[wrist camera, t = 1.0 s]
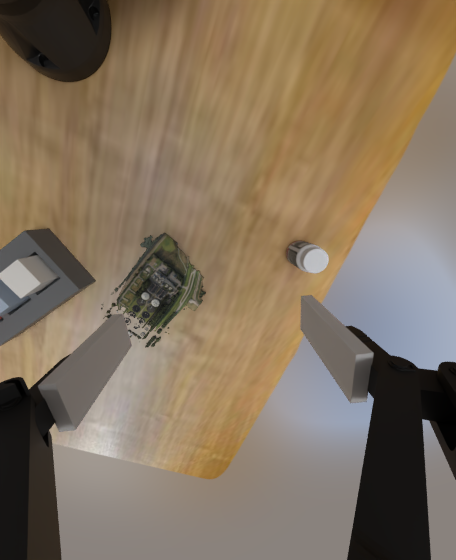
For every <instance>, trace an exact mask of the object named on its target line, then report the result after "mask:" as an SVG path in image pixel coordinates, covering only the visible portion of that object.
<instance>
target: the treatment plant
mask: <svg viewBox="0 0 456 560" xmlns="http://www.w3.org/2000/svg"><path fill="white" fill-rule="evenodd" d="M151 238H153V237H152V236H151V235H150V237H148V238H144V240H145V242H144V243H141V244H140V246H141V247H146V248H148V249H147V250H146V252H145V253H144V254H143V256H142V257H141V258H140V259H139V262H138V263H137V265H135V266H134V267H133V268H132V271H131V272H130V273H129V275H128V276H127V277H126V278H125V279H127V280H126V283H125V285H124V284H123V283H124V281H125V279H124V281H123V283H121V284H120V286H118V287H119V288H120V287H121V285H122V284H123V285H124V287H123V288H122V290H121V292H120V294H119V295H120V296H119V298H118V299H117V305H116V306H118V310H121V306H122V307H125V308H126V310H125V311H123V312H124V313H125V312H126V311H127V312H126V313H127V314H128V313H130V312H133V313H132V314H130V316H133V317H134V318H135V316H136V317H137V318H141V320H142V319H143V320H144V322H145V321H146V324H147V323H148V322H149V323H150V324H149V323H148V324H147V325H148V326H149V327H150V325H151V326H152V327H151V329H150V330H149V331H150V332H151V331H152V330H153V329H154V327H156V326H157V327H156V330H157V328H159V327H160V326H161V325H162V324H163V325H162V326H161V327H162V328H165V326H166V325H167V324H168V323H169V322H170V321H171V320H172V319H173V318H174V317H175V316H176V315H177V314H178V313H179V311H180V310H181V309H182V308H183V307H184V306H185V305H186V306H188V308H190V309H192V310H193V311H195V310H196V309H197V308H198V306H199V305H200V304H201V303H202V301H203V300H202V299H201V297H202V295H204V294H206V292H203V291H202V287H203V286H202V282H201V281H202V280H203V279H204V277H202V275H200V271H196V269H193V267H194V266H191V265H190V263H189V257H185V254H184V253H183V252H182V251H181V250H180V249H179V248H177V244H178V243H177V242H175V241H174V240H173V239H172V238H170V237H169V236H168V235H167V234H166V233H163V234H162V235H160V236H159V237H158V238H156V239H155V241H153V242H152V241H151ZM115 290H117V291H118V288H116V289H115ZM111 295H112V294H111ZM204 296H205V295H204ZM186 303H187V304H186ZM101 305H103V304H101ZM114 306H115V303H112V307H114ZM103 307H104V306H103ZM127 307H128V308H127ZM137 307H138V308H137ZM101 309H102V308H101ZM186 309H187V308H186ZM110 310H111V308H110ZM118 310H117V312H118ZM183 310H185V308H184V309H183ZM135 311H136V312H135ZM106 313H109V314H110V311H107V312H106ZM124 313H123V314H124ZM145 313H147V314H148V315H147V314H145ZM133 314H134V315H133ZM110 315H111V314H110ZM110 315H107V316H105V317H108V318H110V317H111V316H112V315H111V316H110ZM105 317H104V318H105ZM104 318H103V319H104ZM124 319H125V318H124ZM126 319H129V318H126ZM129 320H130V319H129ZM138 320H139V319H138ZM141 320H139V323H140V324H141V322H142V321H141ZM106 321H107V320H106ZM125 322H126V323H128V322H129V321H128V320H126V321H125ZM130 323H131V321H130ZM142 323H143V322H142ZM146 324H145V325H146ZM127 325H129V324H127ZM145 325H144V326H145ZM138 326H139V325H138ZM144 326H143V327H144ZM143 327H142V328H143ZM134 328H135V326H134ZM137 328H140V326H139V327H137ZM137 328H135V329H137ZM168 329H169V327H168ZM145 330H146V331H147V330H148V328H145ZM156 330H155V331H154V332H156ZM149 331H148V333H147V334H146V335H145V333H144V332H142V333H141V334H140V335H141V336H144V335H145V336H144V338H142V339H145V338H146V337H147V336H148V334H149ZM161 331H162V329H159V330H158V331H157V333H158V334H160V333H161ZM130 332H132V331H131V330H128V333H129V334H130ZM165 333H167V332H165ZM132 334H133V335H135V336H136V335H137V334H135V333H134V332H132ZM132 334H131V335H130V336H129V337H131V336H132ZM168 334H169V333H168ZM137 337H138V339H141V337H140V336H137ZM155 338H156V335H155V336H153V337H152V338H151V339H150V341H149V342H148V343H147V345H146V346H145V347H149V345H150V344H151V343H152V342H153V341H154V339H155ZM160 339H161V337H159V338H157V339H156V341H155V342H154V343H153V344H152V345H151V347H154V346H155V343H156V342H158V341H159V340H160Z"/></svg>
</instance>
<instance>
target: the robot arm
mask: <svg viewBox="0 0 456 560" xmlns="http://www.w3.org/2000/svg"><path fill="white" fill-rule="evenodd" d="M0 35H1V36H2V37H3V39H4V40H5V41H6V42H7V44H8V45H9V46H10V47H11V48H12V49H13V50H14V51H15V52H16V53H17V54H18V55H19V56H20V57H21V58H22V59H24V60H25V61H26V62H27V63H29V64H30V65H31V66H32V67H34V68H35V69H36V70H38V71H39V72H41V73H42V74H44V75H46V76H48V77H50V78H53V79H56V80H60V81H78V80H81V79H84V78H86V77H88V76H89V75H91V74H92V73H94V72H95V71H96V70H97V69H98V67H99V66H100V65H101V63H102V62H103V60H104V58H105V56H106V54H107V51H108V48H109V43H110V37H111V18H110V12H109V7H108V3H107V0H0ZM301 330H302V332H303V333H304V335H305V336H306V338H307V339H308V341H309V342H310V344H311V345H312V347H313V348H314V350H315V351H316V353H317V354H318V355H319V357H320V358H321V360H322V362H323V363H324V364H325V366H326V367H327V369H328V370H329V372H330V373H331V375H332V376H333V378H334V379H335V381H336V382H337V384H338V385H339V387H340V388H341V390H342V391H343V393H344V394H345V396H346V397H347V399H348V400H349V401H350V403H358V402H366V401H367V395H368V392H369V393H370V394H371V396H372V397H373V398H374V403H373V408H372V414H371V420H370V427H369V433H368V439H367V444H366V450H365V456H364V463H363V468H362V475H361V480H360V487H359V492H358V498H357V505H356V511H355V517H354V523H353V529H352V534H351V540H350V546H349V552H348V558H347V560H431V554H430V538H429V522H428V506H427V491H426V490H427V489H426V474H425V458H424V442H423V425H422V419H425V420H429V421H430V423H431V426H432V428H433V430H434V432H435V434H436V437H437V439H438V441H439V444H440V446H441V448H442V450H443V452H444V455H445V457H446V459H447V461H448V464H449V466H450V468H451V471H452V472H453V475H454V477H455V479H456V363H455V362H442V363H441V364H440V365H439V367H438V371H434V370H427V369H419V368H417V367H416V366H415V365H414V364H413V363H412V362H410V361H408V360H406V359H404V358H401V357H397V356H390V355H389V354H388V353H387V352H386V351H384V350H383V349H382V348H381V347H380V346H378V345H377V344H376V343H375V342H374V341H372V340H371V339H370V338H369V337H367V335H366V334H364V333H363V332H362V331H361V330H359V329H357V328H355V327H353V326H344V325H343V324H342V323H341V322H340V321H339V320H338V319H337V318H335V317H334V316H333V315H332V314H331V313H330V312H329V311H328V310H327V309H326V308H325V307H324V306H323V305H322V304H320V303H319V302H318V301H317V300H316V299H315V298H314V297H313V296H312V295H308V296H301ZM131 346H132V344H131V341H130V337H129V333H128V330H127V326H126V322H125V319H124V315H123V314H114V315H112V316H111V317H110V318H109V319H108V320H107V321H105V322H104V323H103V324H102V325H101V326H100V327H99V328H98V329H97V330H96V331H95V332H94V333H93V334H92V335H91V336H90V337H89V338H88V339H87V340H85V341H84V342H83V343H82V344H81V345H80V346H79V347H78V348H77V349H76V350H75V351H74V352H73V353H72V354H70V355H68V356H66V357H65V358H63V359H62V360H60V361H59V362H58V363H57V364H56V365H55V366H54V367H53V368H52V369H51V370H50V371H48V372H47V374H45V375H44V376H43V377H42V378H41V379H40V380H39V381H38V382H37V383H35V384H34V385H33V386H32V387H31V388H30V389H29V390H28V388H27V386H26V383H25V381H24V380H23V378H21V377H17V378H11V379H8V380H6V381H3V382H1V383H0V560H61V548H60V535H59V523H58V511H57V498H56V486H55V474H54V461H53V449H52V437H51V434H50V432H49V429H50V428H51V427H52V426H53V424H54V423H55V424H56V426H57V428H58V430H59V432H62V431H72V430H76V429H77V427H78V426H79V424H80V423H81V421H82V420H83V418H84V417H85V415H86V414H87V412H88V411H89V409H90V408H91V406H92V405H93V403H94V402H95V400H96V399H97V397H98V396H99V394H100V393H101V391H102V390H103V388H104V387H105V385H106V384H107V382H108V381H109V379H110V378H111V376H112V375H113V373H114V372H115V370H116V369H117V367H118V366H119V364H120V363H121V361H122V360H123V358H124V357H125V355H126V354H127V352H128V351H129V349H130V348H131Z"/></svg>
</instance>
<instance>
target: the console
mask: <svg viewBox="0 0 456 560" xmlns="http://www.w3.org/2000/svg"><path fill="white" fill-rule="evenodd" d="M35 255H39V256H40V257H41V258H42V259H43V260H44V261H45V263H46V264H47V265H48V266H49V267H50V268H51V269H52V270H53V271H54V272H55V273H56V274H57V275H58V276H59V277H58V278H57V279H56V280H54V281H53V282H52V283H50V284H49V285H47V286H46V287H45V288H43V289H42V290H40V291H38V292H35V293H33V294H31V295H28V296H29V297H30V298H29V299H28V300H27V301H25V302H24V303H23V304H21V305H20V306H18V307H17V308H16V309H14V310H13V311H11V312H8V313H6V314H4V315H2V316H1V317H2V319H1V320H0V346H1V345H3V344H5V343H6V342H8V341H10V340H12V339H13V338H15V337H17V336H18V335H20V334H21V333H23V332H24V331H25V330H27V329H28V328H30V327H31V326H32V325H34V324H35V323H37V322H38V321H40V320H41V319H42V318H44V317H45V316H47V315H48V314H50V313H51V312H52V311H54V310H55V309H57V308H58V307H59V306H61V305H62V304H64V303H65V302H67V301H68V300H69V299H71V298H72V297H74V296H75V295H77V294H78V293H79V292H81V291H82V290H84V289H85V288H86V287H88V286H89V285H91V284H92V283H94V282H95V279H94V278H93V277H92V276H91V275H90V274H89V273H88V272H87V271H86V269H85V268H84V267H83V266H82V265H81V264H80V263H79V262H78V260H77V259H76V258H75V257H74V256H73V255H72V254H71V253H70V251H69V250H68V249H67V248H66V247H65V246H64V245H63V244H62V243H61V241H60V240H59V239H58V238H57V237H56V236H55V235H54V234H53V232H52V231H51V230H50V229H39V230H26V231H23V232H22V233H21V234H20V235H18V236H17V237H16V238H15V239H13V240H12V241H11V242H10V243H8V244H7V245H6V246H5V247H3V248H2V249H1V250H0V273H1V272H2V271H3V270H4V269H6V268H7V267H8V266H10V265H11V264H12V263H13V262H15V261H16V260H17V259H22V258H26V257H31V256H35ZM0 280H1V279H0Z"/></svg>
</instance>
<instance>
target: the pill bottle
mask: <svg viewBox="0 0 456 560" xmlns="http://www.w3.org/2000/svg"><path fill="white" fill-rule="evenodd" d="M286 256H287V259H288V260H289V262H290V263H292V264H293V265H295V266H296V267H298V268H299V269H301V270H302V271H305V272H310V273H319V272H321V271H323V270H324V269H325V268H326V266H327V264H328V261H329V258H328V255H327V253H326V252H325V251H324V250H322V249H321V248H320V247H319V246H317V245H314V244H311V243H308V242H304V241H295V242H293V243H292V244H290V246H289V247H288V249H287V252H286Z"/></svg>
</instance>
